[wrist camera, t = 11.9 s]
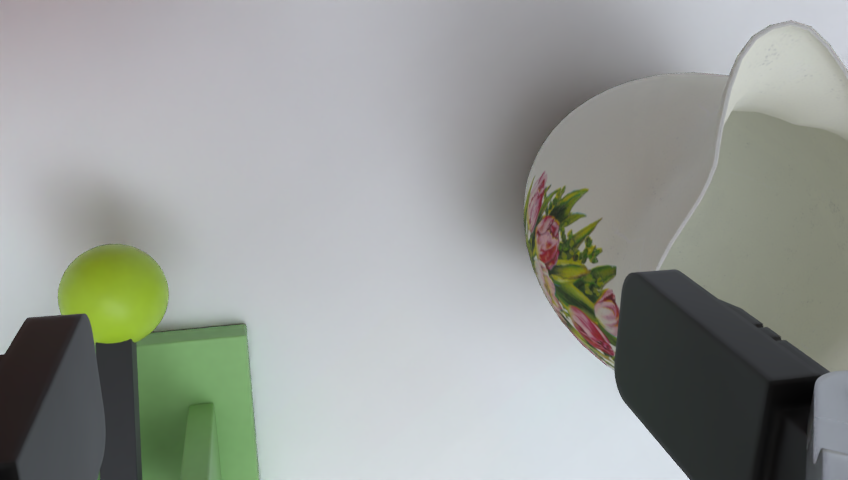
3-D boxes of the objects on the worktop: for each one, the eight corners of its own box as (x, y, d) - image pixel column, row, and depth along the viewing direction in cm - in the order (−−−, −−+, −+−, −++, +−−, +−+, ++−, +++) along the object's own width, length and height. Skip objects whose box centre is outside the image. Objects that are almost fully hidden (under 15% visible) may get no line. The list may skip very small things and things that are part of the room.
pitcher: (556, 417, 37) (719, 645, 25) (429, 55, 31) (561, 113, 18) (761, 324, 38) (1020, 498, 26) (680, -48, 32) (975, -61, 19)
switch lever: (70, 258, 28) (43, 238, 25) (171, 251, 28) (158, 229, 25) (82, 661, 25) (53, 698, 22) (192, 642, 26) (181, 675, 23)
